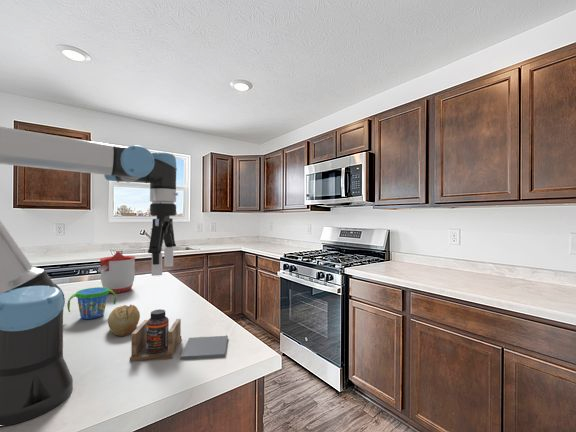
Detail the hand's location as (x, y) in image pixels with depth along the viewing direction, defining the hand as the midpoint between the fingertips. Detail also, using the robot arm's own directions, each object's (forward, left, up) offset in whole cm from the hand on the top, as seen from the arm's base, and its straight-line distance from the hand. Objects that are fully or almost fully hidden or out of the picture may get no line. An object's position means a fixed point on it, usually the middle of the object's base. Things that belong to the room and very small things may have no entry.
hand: (163, 270), depth 90 cm
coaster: (-7, -14, -22) cm, 27 cm away
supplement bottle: (-6, 0, -22) cm, 23 cm away
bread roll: (+11, +16, -23) cm, 30 cm away
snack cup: (+25, +33, -22) cm, 47 cm away
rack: (-6, 0, -22) cm, 23 cm away
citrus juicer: (+62, +40, -22) cm, 77 cm away
